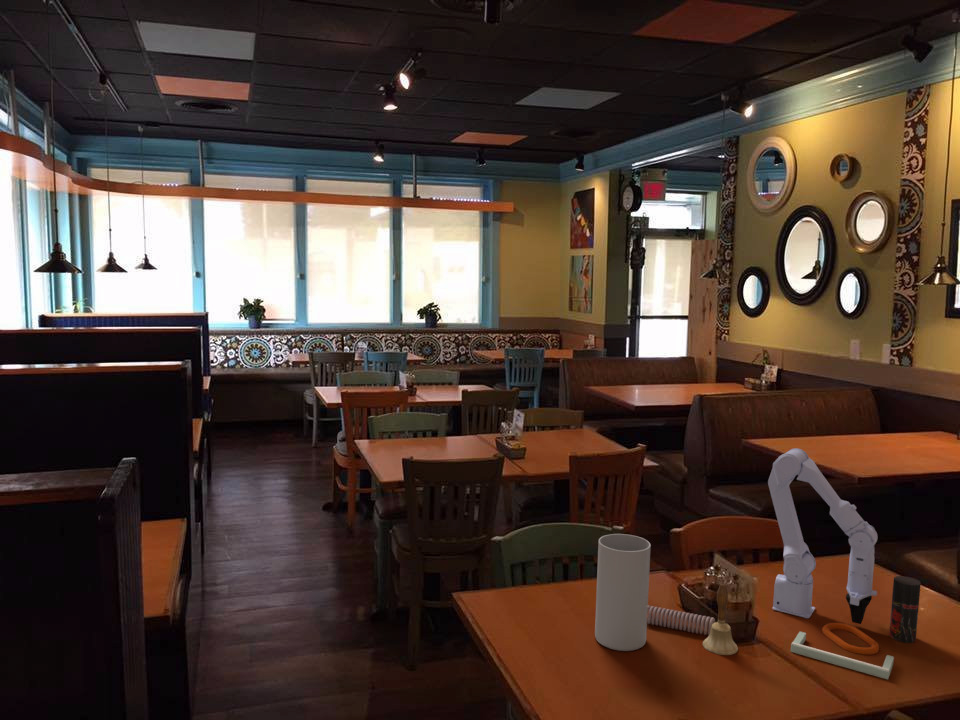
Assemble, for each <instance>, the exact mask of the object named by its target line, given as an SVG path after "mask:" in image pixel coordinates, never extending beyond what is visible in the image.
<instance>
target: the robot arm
mask: <svg viewBox="0 0 960 720" xmlns="http://www.w3.org/2000/svg"><path fill="white" fill-rule="evenodd" d="M795 477H797V478H796V480H797V481H801V482H805V483H809V485H810V486H811V487H812V488H813V489H814V490H815V492H816V493H817V494H818V495H819V496H820V497H821V498H822V500H823V501H824V502H825V503H826V504H827V505H828V506H829V516H831V518H833V520H834V521H835V523H836V524H837V525H838V526H839V528H840V529H841V530H842V531H843V533H844V534H845V535H846V536H848V544H849V546H850V553H849V560H848V561H849V562H848V576H847V584H846V591H847V594H846V596H845V599H846V602H847V604H848V606H849V611H850V618H851V622H852V623H854V624H858V625H861V624H862V622H863V620H864V617H865V614H866V610H867V607H868V606H869V605H870V603H871V601H872V598H873V597H876V596H877V595H878V591H877V590H874V589H873V583H874V581H873V580H874V568H875V545H876V543H877V542H878V533H877V531H876V529H875V527H874V526H873V525H870V524H869V523H868V521H865V520H864V519H863V517H862V516H861V515H860V514H859V513H858V511H857V506H856V505H855V504H851V503H850V502H849V501H847V500H844V499H841V498H840V496H839V495H838V494H837V492H836V491H835V490H834V488H833V487H832V485H831V484H830V483H829V482H828V480H827V479H826V477H825V476H824V475H823V473H822V471H821V470H820V469H819V468H818V466H817V464H816V463H815V461H814V460H813V459H812V458H811V457H809V455H808V453H806V451H804V450H803V449H801V448H798V447H797V448H794V447H793V448H790V449H789V450H788V451H787V452H785V453H783V454H781V455H779V456H778V458H776V459H775V461H773V463H772V469H771V472H770V475H769V477H768V480H767V484H768V488H769V493H770V497H771V500H772V505H773V507H774V512H775V516H776V519H777V523H778V528H779V530H780V535H781V538H782V542H783V543H782V544H783V555H782V556H783V561H784V562H783V567H782V570H783V574H779V573H778V574H777V575H776V577H775V582H774V588H773V601H772V602H773V603H772V605H773V606H772V610H774V611H777V612H780V613H785V614H790V615H793V616H797V617H800V618H804V619H810V618H811V616H812V614H813V613H814V612H815V610H816V607H815V606H812V601H813V592H814V591H813V589H814V578H813V575H812V573H813V571H814V570H815V569H816V566H817V563H816V559H815V557H814V556H813V554H812V553H811V552H810V549H809V546H808V544H807V543H806V542H804V537H803V533H802V530H801V526H800V522H799V519H798V515H797V510H796V507H795V504H794V499H793V496H792V492H791V488H790V485H791V483H792V482H793V481H794V479H795Z"/></svg>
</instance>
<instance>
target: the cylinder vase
mask: <svg viewBox="0 0 960 720" xmlns="http://www.w3.org/2000/svg"><path fill="white" fill-rule="evenodd" d="M651 546H652V545H651V543H650V542H649V541H648V540H647V539H645V538H644V537H640V536H637V535H632V534H628V533H627V534H623V533H611V534H606V535H602V536H601V537H600V538H598V546H597V547H598V548H597V549H598V550H597V571H596V572H597V573H596V596H595V597H596V598H595V600H596V601H595V621H594V623H595V625H594V637H595V639H596V641H597V642H598V643H599V644H600V645H602V646H603V647H606V648H607V649H611V650H614V651H619V652H620V651H621V652H632V651H635V650H639V649H640V648H643V646H644V645H646V642H647V631H648V630H647V629H648V622H647V620H648V614H647V611H648V612H649V610H648V605H649V588H650V587H649V583H650V566H651V565H650V563H651Z"/></svg>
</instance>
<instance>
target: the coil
mask: <svg viewBox="0 0 960 720" xmlns="http://www.w3.org/2000/svg"><path fill="white" fill-rule="evenodd" d="M713 623H716V618H714V617H710V616H706V615H701V614H700V615H699V614H697V613H696V614H695V613H693V612H692V613H690V612H685V611H683V612H682V611H681V610H680V611H679V610H674V609H670V608H667V609H666V608H665V607H664V608H662V607H661V606H660V607H658V606H654V605H652V606H651V605H649V604H648V611H647V625H652V626H654V625H655V626H659V627H664V628H666V627H667V628H668V629H670V628H671V629H675V630H676V631H678V630H679V631H684V632H686V631H687V632H688V633H690V632H691V633H695V634H700V635H704V636H707V637H708V636H709V635H710V632H711V627H712V624H713Z"/></svg>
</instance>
